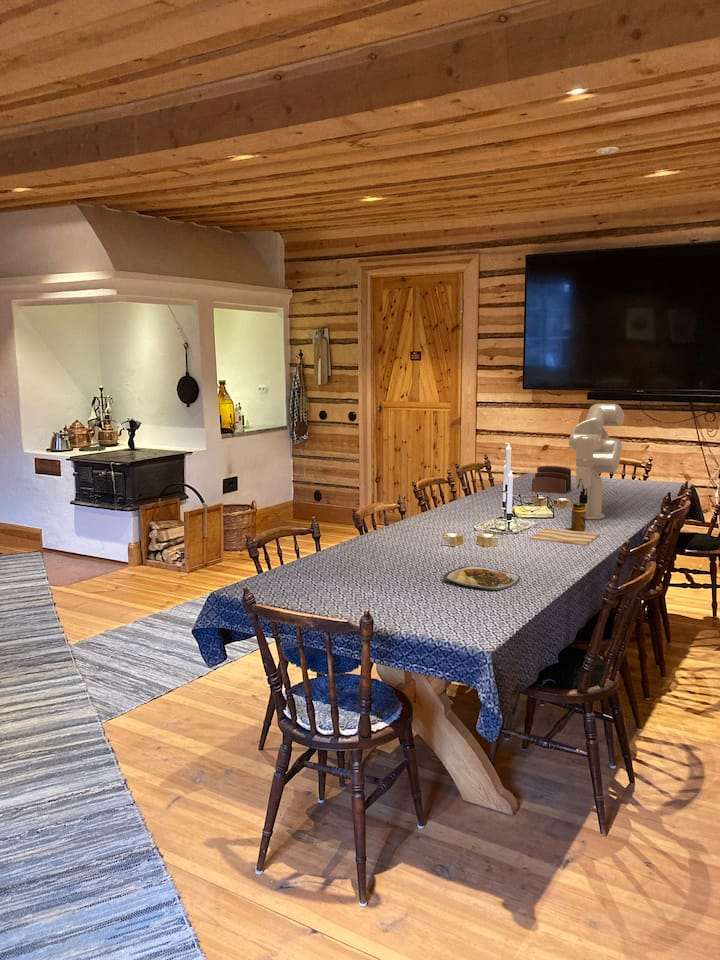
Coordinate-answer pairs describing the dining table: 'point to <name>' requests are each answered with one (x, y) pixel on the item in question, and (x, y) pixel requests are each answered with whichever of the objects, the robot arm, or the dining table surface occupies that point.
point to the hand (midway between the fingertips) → (583, 503)
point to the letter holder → (552, 480)
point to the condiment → (578, 518)
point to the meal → (481, 577)
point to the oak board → (565, 536)
